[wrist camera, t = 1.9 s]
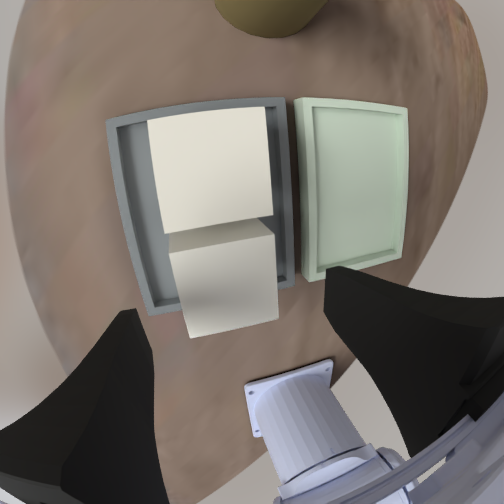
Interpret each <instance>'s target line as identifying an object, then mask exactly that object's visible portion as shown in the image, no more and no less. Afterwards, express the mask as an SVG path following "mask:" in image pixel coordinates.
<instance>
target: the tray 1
mask: <svg viewBox="0 0 504 504" xmlns="http://www.w3.org/2000/svg"><path fill="white" fill-rule="evenodd" d="M247 107H265V115H266V127H267V138H268V151H269V163H270V176H271V190H272V204H273V215H270V216H263V217H257V218H258V219H259V220H260V221H261V222H262V223H263V224H264V225H265V226H266V227H267V228H268V229H269V230H271V231H272V232H273V233H274V235H275V252H276V270H277V290H279V289H284V288H288V287H292V286H295V271H294V234H293V209H292V188H291V171H290V155H289V141H288V127H287V115H286V104H285V97H263V98H241V99H227V100H215V101H206V102H197V103H189V104H182V105H175V106H169V107H163V108H157V109H152V110H147V111H142V112H137V113H132V114H128V115H123V116H119V117H115V118H111V119H107V120H106V129H107V138H108V146H109V153H110V160H111V166H112V173H113V179H114V184H115V190H116V195H117V200H118V205H119V210H120V214H121V219H122V223H123V228H124V232H125V236H126V240H127V244H128V248H129V252H130V256H131V260H132V263H133V267H134V270H135V274H136V277H137V281H138V284H139V287H140V291H141V294H142V297H143V300H144V303H145V306H146V309H147V312H148V315H149V316H153V315H158V314H164V313H169V312H175V311H180V310H182V307H181V303H180V299H179V295H178V291H177V287H176V283H175V279H174V275H173V270H172V266H171V262H170V257H169V233H167V234H165V233H164V228H163V223H162V218H161V213H160V207H159V201H158V196H157V190H156V183H155V177H154V171H153V164H152V157H151V149H150V141H149V133H148V124H147V120H151V119H156V118H162V117H168V116H174V115H180V114H187V113H194V112H202V111H211V110H221V109H232V108H247Z"/></svg>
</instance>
